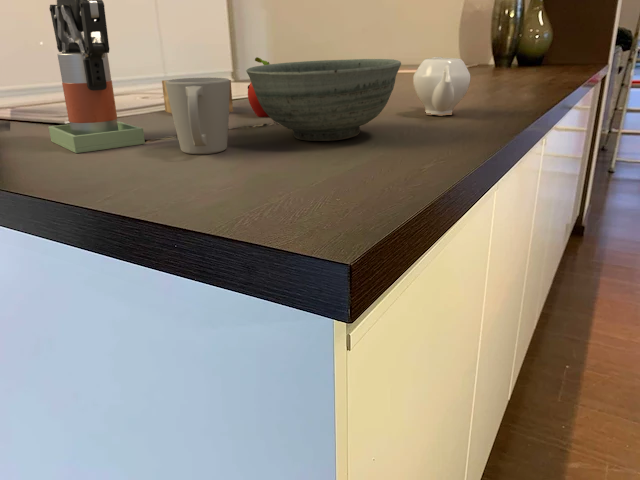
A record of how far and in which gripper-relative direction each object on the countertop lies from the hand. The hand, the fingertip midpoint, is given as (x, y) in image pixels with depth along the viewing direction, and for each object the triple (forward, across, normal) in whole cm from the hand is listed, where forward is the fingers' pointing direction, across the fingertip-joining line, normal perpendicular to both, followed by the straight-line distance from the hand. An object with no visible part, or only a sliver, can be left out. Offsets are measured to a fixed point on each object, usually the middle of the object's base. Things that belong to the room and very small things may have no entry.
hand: (88, 87), depth 71 cm
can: (+7, 0, 0) cm, 7 cm away
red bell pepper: (+8, -2, +30) cm, 31 cm away
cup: (+8, +16, +8) cm, 19 cm away
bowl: (+8, +18, +26) cm, 32 cm away
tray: (+7, 0, 0) cm, 7 cm away
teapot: (+8, +16, +54) cm, 57 cm away
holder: (+7, -15, +24) cm, 29 cm away
